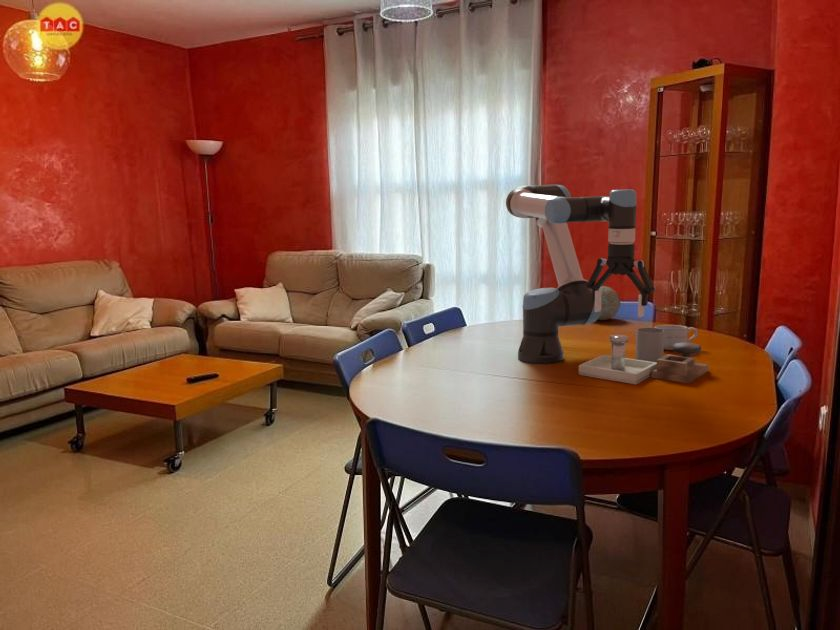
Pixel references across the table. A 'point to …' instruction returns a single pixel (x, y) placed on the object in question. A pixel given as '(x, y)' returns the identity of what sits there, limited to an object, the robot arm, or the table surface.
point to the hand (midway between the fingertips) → (618, 314)
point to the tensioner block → (680, 364)
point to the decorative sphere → (608, 303)
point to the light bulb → (618, 352)
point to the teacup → (675, 335)
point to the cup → (649, 344)
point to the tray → (602, 369)
